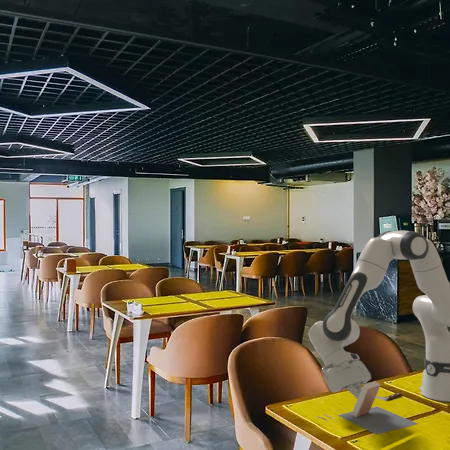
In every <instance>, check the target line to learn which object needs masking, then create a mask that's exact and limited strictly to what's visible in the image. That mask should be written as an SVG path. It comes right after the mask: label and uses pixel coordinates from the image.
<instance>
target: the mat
mask: <svg viewBox="0 0 450 450" xmlns="http://www.w3.org/2000/svg"><path fill="white" fill-rule="evenodd" d="M337 416H338V417H341V418H342V419H344V420H346V421H348V422H350V423H352V424H354V425H356V426H358V427H361V428H363V429H364V430H367V431H369V432H371V433H373V434H375V435H379V434H380V435H381V434H385V433H388V432H391V431H396V430H400V429H404V428H408V427H411V426H415V425H419V423H417V422H415V421H413V420H411V419H408V418H407V417H406V418H405V417H403V416H401V415H399V414H396V413H394V412H392V411H389V410H387V409H384V408H382V407H380V406H371V409H370V411H369V413H367V414H364V415H362V416H359V417H355V416H354V415H353V414H352V411H350V412H346V413H340V414H337Z"/></svg>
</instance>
